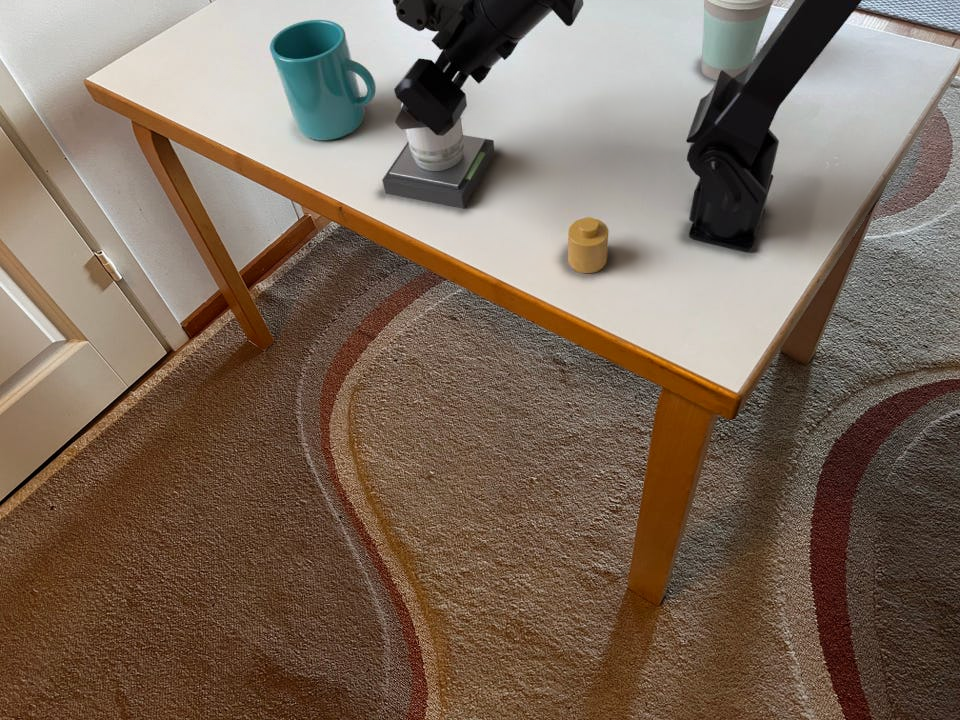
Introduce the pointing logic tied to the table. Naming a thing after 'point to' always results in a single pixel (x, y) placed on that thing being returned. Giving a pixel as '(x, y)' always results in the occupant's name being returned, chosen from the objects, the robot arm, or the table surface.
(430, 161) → the camera lens
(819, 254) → the table surface
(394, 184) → the scale
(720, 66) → the coffee cup
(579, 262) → the brass weight
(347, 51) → the cup
